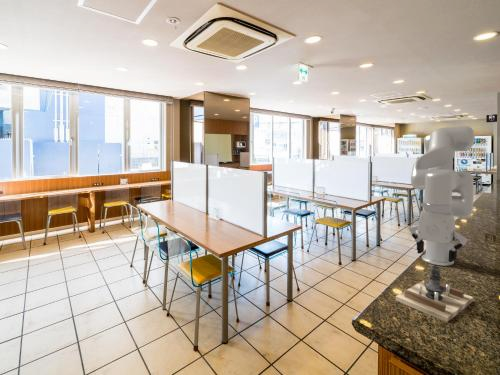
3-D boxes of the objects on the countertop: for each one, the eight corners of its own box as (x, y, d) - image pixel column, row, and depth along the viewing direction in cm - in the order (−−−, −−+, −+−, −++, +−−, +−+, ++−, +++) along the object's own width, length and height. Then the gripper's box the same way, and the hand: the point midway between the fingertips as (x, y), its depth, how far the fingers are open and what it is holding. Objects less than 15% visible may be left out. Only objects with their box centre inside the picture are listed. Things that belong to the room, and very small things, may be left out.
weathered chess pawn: (420, 294, 97) (421, 262, 95) (431, 290, 99) (433, 259, 97) (436, 302, 91) (438, 268, 90) (448, 298, 93) (450, 265, 92)
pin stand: (423, 283, 107) (423, 270, 106) (472, 301, 94) (473, 286, 93) (395, 300, 96) (395, 285, 96) (447, 322, 83) (448, 305, 82)
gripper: (405, 206, 96) (404, 252, 99) (463, 214, 82) (460, 267, 84) (415, 203, 100) (414, 247, 103) (473, 210, 86) (470, 261, 88)
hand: (435, 256), depth 94 cm, fingers open, 9 cm apart
